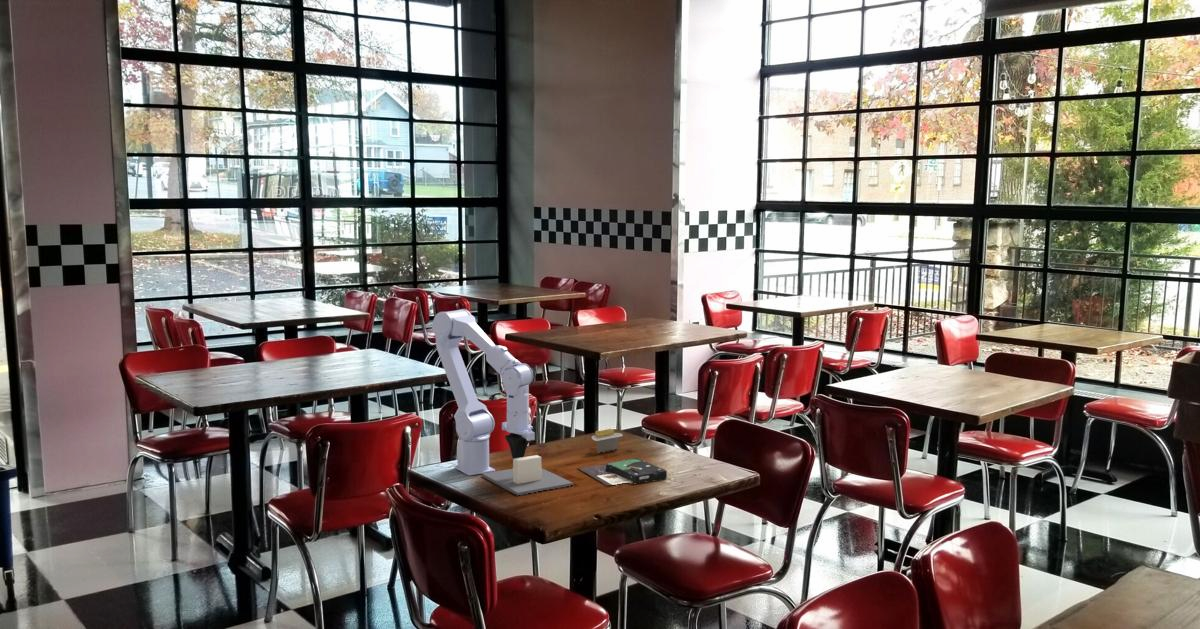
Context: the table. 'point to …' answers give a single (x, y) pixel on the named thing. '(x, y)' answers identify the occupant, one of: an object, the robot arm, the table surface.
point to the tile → (527, 469)
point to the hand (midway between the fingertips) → (518, 461)
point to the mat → (506, 482)
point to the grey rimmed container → (606, 440)
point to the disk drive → (637, 470)
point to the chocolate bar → (604, 475)
